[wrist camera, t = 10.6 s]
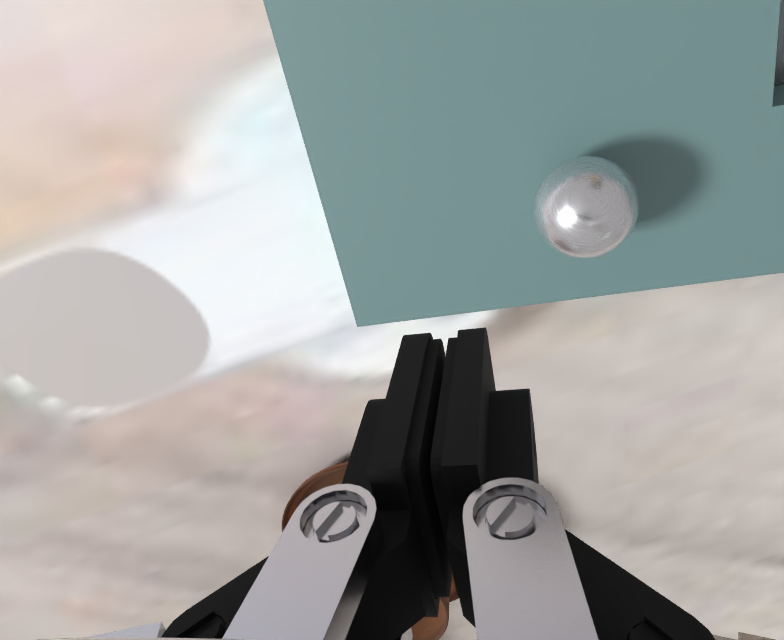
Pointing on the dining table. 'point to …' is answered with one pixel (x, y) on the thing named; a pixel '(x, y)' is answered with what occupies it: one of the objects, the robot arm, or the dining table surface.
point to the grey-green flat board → (534, 142)
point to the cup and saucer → (427, 627)
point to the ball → (586, 207)
